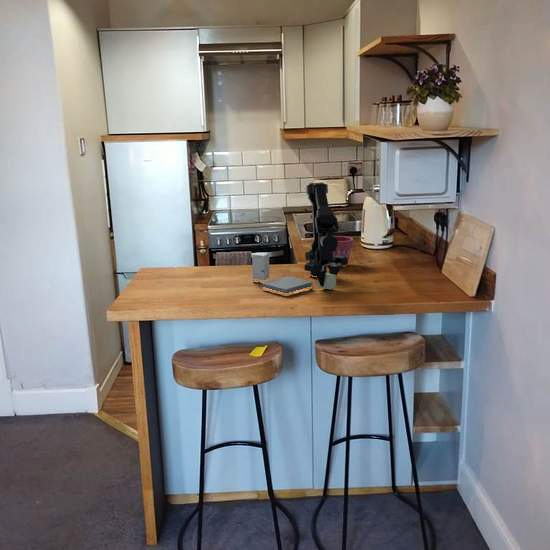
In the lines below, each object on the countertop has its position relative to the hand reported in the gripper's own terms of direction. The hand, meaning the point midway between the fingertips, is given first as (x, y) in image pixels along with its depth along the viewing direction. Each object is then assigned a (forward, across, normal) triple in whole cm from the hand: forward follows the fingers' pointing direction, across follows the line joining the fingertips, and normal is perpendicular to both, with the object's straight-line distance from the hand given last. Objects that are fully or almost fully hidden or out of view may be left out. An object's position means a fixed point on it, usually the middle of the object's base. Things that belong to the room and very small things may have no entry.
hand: (326, 285), depth 225 cm
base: (+2, +10, -12) cm, 16 cm away
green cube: (+1, 0, 0) cm, 1 cm away
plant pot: (+2, -32, -24) cm, 40 cm away
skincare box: (+2, +9, -29) cm, 30 cm away
